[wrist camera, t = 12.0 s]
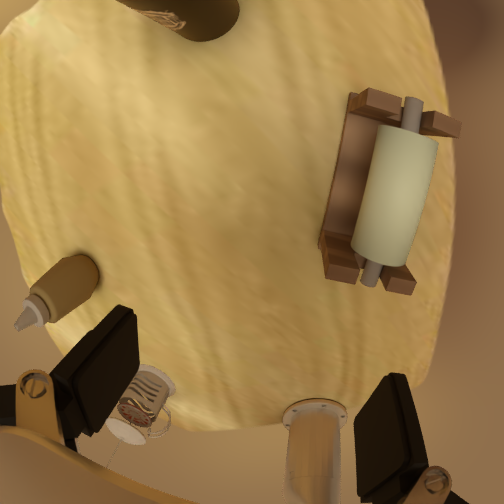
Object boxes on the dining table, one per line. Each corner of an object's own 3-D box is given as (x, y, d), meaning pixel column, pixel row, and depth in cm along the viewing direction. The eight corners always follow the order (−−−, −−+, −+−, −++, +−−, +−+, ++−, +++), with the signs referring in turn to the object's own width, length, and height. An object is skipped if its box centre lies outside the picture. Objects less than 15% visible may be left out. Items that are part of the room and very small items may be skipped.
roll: (361, 265, 33) (402, 289, 28) (329, 274, 29) (375, 304, 25) (400, 103, 25) (451, 114, 21) (372, 85, 21) (432, 95, 17)
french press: (130, 357, 51) (66, 454, 28) (185, 377, 50) (133, 489, 28) (133, 386, 55) (82, 474, 33) (183, 405, 55) (141, 503, 32)
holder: (382, 258, 36) (407, 304, 26) (317, 244, 36) (322, 287, 26) (419, 115, 28) (463, 112, 18) (349, 93, 29) (370, 76, 19)
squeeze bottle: (76, 287, 47) (12, 343, 30) (66, 246, 44) (-8, 296, 27) (108, 293, 46) (44, 358, 29) (99, 249, 42) (22, 307, 26)
